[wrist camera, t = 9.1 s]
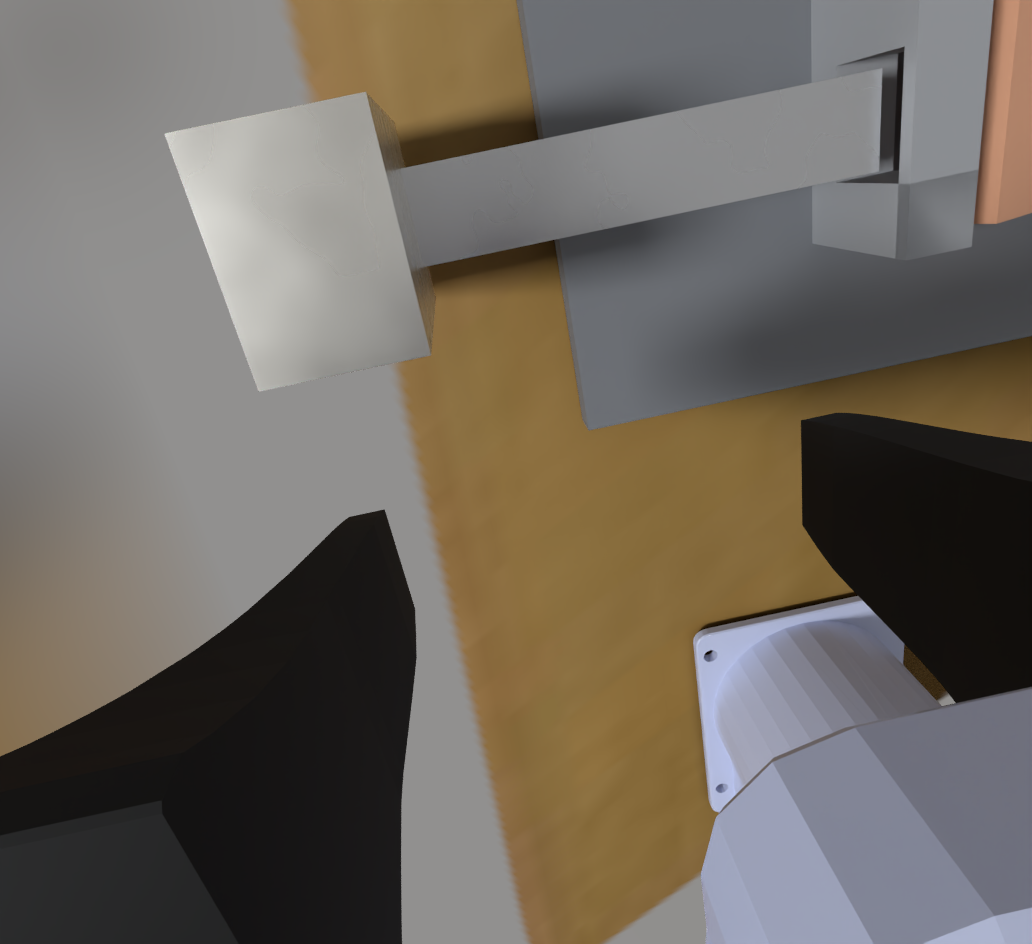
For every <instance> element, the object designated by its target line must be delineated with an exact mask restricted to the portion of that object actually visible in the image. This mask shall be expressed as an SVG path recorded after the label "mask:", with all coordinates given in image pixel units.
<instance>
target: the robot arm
mask: <svg viewBox="0 0 1032 944" xmlns="http://www.w3.org/2000/svg"><path fill="white" fill-rule="evenodd" d="M801 446H802V522H803V526H804V528H805V529H806V531H807V532H808V534H809V535H810V537H811V539H812V540H813V542H814V543H815V545H816V546H817V548H818V549H819V550H820V552H821V553H822V555H823V556H824V557H825V559H826V560H827V561H828V563H829V564H830V566H831V567H832V568H833V569H834V570H835V572H836V573H837V574H838V575H839V576H840V577H841V578H842V579H843V580H844V581H845V582H846V583H847V584H848V586H849V587H850V588H851V589H852V590H853V591H854V592H855V593H856V594H857V595H858V596H854V597H850V598H845V599H841V600H836V601H831V602H827V603H822V604H818V605H813V606H808V607H804V608H799V609H794V610H790V611H785V612H781V613H776V614H771V615H767V616H762V617H758V618H753V619H748V620H744V621H739V622H735V623H730V624H725V625H721V626H716V627H711V628H707V629H704V630H701V631H699V632H698V633H697V634H696V635H695V637H694V641H693V645H694V655H695V665H696V675H697V685H698V695H699V705H700V715H701V725H702V735H703V745H704V756H705V766H706V776H707V786H708V796H709V802H710V804H711V807H712V809H713V810H714V811H716V812H720V813H719V814H718V816H717V817H716V820H715V823H714V827H713V831H712V835H711V838H710V842H709V846H708V850H707V853H706V857H705V861H704V865H703V868H702V872H701V880H702V889H703V898H704V907H705V916H706V925H707V934H706V944H1032V442H1029V441H1021V440H1014V439H1007V438H1000V437H993V436H987V435H981V434H975V433H969V432H963V431H957V430H951V429H946V428H940V427H934V426H929V425H923V424H918V423H912V422H907V421H901V420H895V419H889V418H883V417H877V416H870V415H862V414H852V413H834V414H829V415H824V416H820V417H815V418H810V419H806V420H801ZM904 644H905V645H906V646H907V647H908V648H909V649H910V650H911V651H912V652H913V653H914V654H915V655H916V656H917V657H918V658H919V659H920V660H921V662H922V663H923V664H924V665H925V666H926V667H927V668H928V669H929V671H930V672H931V673H932V674H933V675H934V676H935V677H936V679H937V680H938V681H939V682H940V683H941V684H942V686H943V687H944V688H945V689H946V691H947V692H948V693H949V695H950V696H951V697H952V698H953V700H954V701H955V702H956V703H955V704H950V705H946V706H941V705H940V704H939V703H938V702H937V701H936V700H935V698H934V697H933V696H932V695H931V694H930V693H929V692H928V691H927V690H926V689H925V688H924V687H923V686H922V685H921V684H920V682H919V681H918V680H917V679H916V678H915V677H914V676H913V675H912V674H911V673H910V672H909V671H908V670H907V669H906V668H905V666H904V665H903V659H904ZM710 650H713V651H712V652H711V653H710V654H708V655H704V654H705V653H706V652H708V651H710ZM415 666H416V624H415V607H414V604H413V601H412V598H411V594H410V591H409V588H408V585H407V581H406V578H405V575H404V572H403V569H402V565H401V562H400V558H399V555H398V552H397V549H396V545H395V542H394V539H393V536H392V533H391V529H390V526H389V523H388V519H387V516H386V513H385V510H380V511H376V512H371V513H366V514H362V515H357V516H352V517H349V518H347V519H346V520H345V521H343V522H342V523H341V524H340V525H339V526H338V527H337V528H335V529H334V530H333V531H332V532H331V533H330V534H329V535H328V536H327V537H326V538H325V539H324V540H323V541H322V542H321V543H320V544H319V545H318V546H317V547H316V548H315V549H314V550H313V551H312V552H311V553H310V554H309V555H308V556H307V557H306V558H305V559H304V560H303V561H302V562H301V563H300V564H299V565H298V566H296V568H294V570H293V571H292V572H290V574H288V575H287V576H286V577H285V578H284V579H283V580H282V581H280V582H279V583H278V584H277V585H276V586H275V587H274V588H273V589H272V590H270V591H269V592H268V593H267V594H266V595H265V596H264V597H262V598H261V599H260V600H259V601H258V602H257V603H256V604H255V605H253V606H252V607H251V608H250V609H249V610H248V611H247V612H245V613H244V614H243V615H242V616H240V617H239V618H238V619H237V620H235V621H234V622H233V623H231V624H230V625H229V626H228V627H226V628H225V629H224V630H222V631H221V632H220V633H218V634H217V635H215V636H214V637H213V638H211V639H210V640H209V641H207V642H206V643H204V644H203V645H202V646H200V647H199V648H198V649H196V650H195V651H193V652H192V653H190V654H189V655H187V656H186V657H184V658H182V659H181V660H179V661H178V662H176V663H174V664H173V665H171V666H170V667H168V668H166V669H165V670H163V671H162V672H160V673H158V674H157V675H155V676H154V677H152V678H150V679H149V680H147V681H146V682H144V683H143V684H141V685H139V686H138V687H136V688H134V689H133V690H131V691H129V692H128V693H126V694H124V695H122V696H121V697H119V698H117V699H115V700H113V701H112V702H110V703H108V704H106V705H105V706H102V707H101V708H99V709H97V710H95V711H93V712H91V713H90V714H88V715H86V716H84V717H82V718H80V719H78V720H76V721H74V722H72V723H70V724H68V725H66V726H64V727H62V728H60V729H58V730H56V731H54V732H52V733H50V734H48V735H46V736H44V737H42V738H40V739H38V740H36V741H34V742H32V743H30V744H28V745H25V746H23V747H21V748H19V749H16V750H14V751H12V752H10V753H7V754H5V755H3V756H1V757H0V944H402V929H401V927H402V925H401V799H402V784H403V770H404V762H405V754H406V746H407V737H408V728H409V720H410V711H411V703H412V694H413V684H414V676H415ZM719 784H720V785H719Z"/></svg>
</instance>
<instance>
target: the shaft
mask: <svg viewBox="0 0 1032 944" xmlns="http://www.w3.org/2000/svg"><path fill="white" fill-rule="evenodd" d="M881 96H882V68H881V69H876V70H871V71H866V72H862V73H857V74H852V75H847V76H843V77H838V78H833V79H828V80H823V81H819V82H814V83H809V84H804V85H799V86H795V87H790V88H785V89H780V90H775V91H771V92H766V93H761V94H756V95H751V96H747V97H742V98H737V99H732V100H727V101H723V102H718V103H713V104H708V105H704V106H699V107H694V108H689V109H684V110H680V111H675V112H670V113H665V114H660V115H656V116H651V117H646V118H641V119H636V120H632V121H627V122H622V123H617V124H612V125H608V126H603V127H598V128H593V129H588V130H584V131H579V132H574V133H569V134H565V135H560V136H555V137H550V138H545V139H541V140H536V141H531V142H526V143H521V144H517V145H512V146H507V147H502V148H497V149H493V150H488V151H483V152H478V153H473V154H469V155H464V156H459V157H454V158H449V159H445V160H440V161H435V162H430V163H426V164H421V165H416V166H411V167H406V168H405V165H404V161H403V156H402V152H401V148H400V144H399V139H398V135H397V131H396V127H395V122H394V121H393V120H392V119H391V118H390V117H389V116H388V115H387V114H386V113H385V112H384V111H383V110H382V109H381V108H380V106H379V105H378V104H377V103H376V102H375V101H374V100H373V99H372V98H371V97H370V96H369V95H368V94H367V93H366V92H363V93H358V94H353V95H348V96H343V97H339V98H334V99H329V100H324V101H319V102H315V103H310V104H305V105H300V106H295V107H290V108H286V109H281V110H276V111H272V112H267V113H261V114H257V115H252V116H247V117H242V118H237V119H233V120H228V121H223V122H219V123H214V124H208V125H204V126H199V127H194V128H189V129H184V130H180V131H175V132H170V133H165V137H166V139H167V142H168V145H169V148H170V150H171V153H172V156H173V159H174V161H175V164H176V167H177V170H178V172H179V175H180V178H181V181H182V183H183V186H184V189H185V192H186V194H187V197H188V200H189V203H190V205H191V208H192V211H193V214H194V216H195V219H196V222H197V224H198V227H199V230H200V233H201V235H202V238H203V241H204V243H205V246H206V249H207V252H208V255H209V257H210V260H211V263H212V266H213V268H214V271H215V274H216V277H217V279H218V282H219V285H220V287H221V290H222V293H223V295H224V298H225V301H226V304H227V307H228V309H229V312H230V315H231V318H232V320H233V323H234V326H235V329H236V331H237V334H238V337H239V340H240V342H241V345H242V348H243V350H244V353H245V356H246V359H247V361H248V364H249V367H250V370H251V372H252V375H253V378H254V380H255V383H256V386H257V389H258V392H260V391H264V390H269V389H274V388H279V387H283V386H288V385H293V384H298V383H302V382H307V381H312V380H316V379H321V378H326V377H331V376H335V375H340V374H345V373H349V372H354V371H359V370H364V369H368V368H373V367H378V366H383V365H387V364H392V363H397V362H402V361H406V360H411V359H416V358H420V357H425V356H430V355H431V349H432V338H433V326H434V314H435V302H436V296H435V292H434V288H433V284H432V279H431V275H430V271H429V267H428V266H432V265H437V264H441V263H446V262H451V261H456V260H460V259H465V258H470V257H475V256H479V255H484V254H489V253H494V252H498V251H503V250H508V249H513V248H518V247H522V246H527V245H532V244H537V243H541V242H546V241H551V240H556V239H560V238H565V237H570V236H575V235H579V234H584V233H589V232H594V231H598V230H603V229H608V228H613V227H617V226H622V225H627V224H632V223H636V222H641V221H646V220H651V219H655V218H660V217H665V216H670V215H674V214H679V213H684V212H689V211H694V210H698V209H703V208H708V207H713V206H717V205H722V204H727V203H732V202H736V201H741V200H746V199H751V198H755V197H760V196H765V195H770V194H774V193H779V192H784V191H789V190H793V189H798V188H803V187H808V186H812V185H817V184H822V183H827V182H831V181H836V180H841V179H846V178H850V177H855V176H860V175H865V174H870V173H874V172H879V157H880V126H881Z"/></svg>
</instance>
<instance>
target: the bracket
mask: <svg viewBox="0 0 1032 944" xmlns="http://www.w3.org/2000/svg"><path fill="white" fill-rule="evenodd" d="M993 2H994V0H517V6H518V12H519V19H520V25H521V31H522V38H523V44H524V50H525V57H526V63H527V69H528V76H529V82H530V88H531V95H532V101H533V108H534V114H535V120H536V127H537V133H538V139H539V140H541V139H545V138H550V137H555V136H560V135H565V134H569V133H574V132H579V131H584V130H588V129H593V128H598V127H603V126H608V125H612V124H617V123H622V122H627V121H632V120H636V119H641V118H646V117H651V116H656V115H660V114H665V113H670V112H675V111H680V110H684V109H689V108H694V107H699V106H704V105H708V104H713V103H718V102H723V101H727V100H732V99H737V98H742V97H747V96H751V95H756V94H761V93H766V92H771V91H775V90H780V89H785V88H790V87H795V86H799V85H804V84H809V83H814V82H819V81H823V80H828V79H833V78H838V77H843V76H847V75H852V74H857V73H862V72H866V71H871V70H876V69H881V68H882V96H881V126H880V157H879V172H874V173H870V174H865V175H860V176H855V177H850V178H846V179H841V180H836V181H831V182H827V183H822V184H817V185H812V186H808V187H803V188H798V189H793V190H789V191H784V192H779V193H774V194H770V195H765V196H760V197H755V198H751V199H746V200H741V201H736V202H732V203H727V204H722V205H717V206H713V207H708V208H703V209H698V210H694V211H689V212H684V213H679V214H674V215H670V216H665V217H660V218H655V219H651V220H646V221H641V222H636V223H632V224H627V225H622V226H617V227H613V228H608V229H603V230H598V231H594V232H589V233H584V234H579V235H575V236H570V237H565V238H560V239H556V240H554V241H555V247H556V253H557V260H558V266H559V272H560V279H561V285H562V292H563V298H564V304H565V311H566V317H567V323H568V330H569V336H570V342H571V349H572V355H573V361H574V368H575V374H576V380H577V387H578V393H579V399H580V406H581V412H582V418H583V421H584V423H585V425H586V426H587V428H588V430H593V429H598V428H602V427H607V426H612V425H616V424H621V423H626V422H631V421H635V420H640V419H645V418H649V417H654V416H659V415H663V414H668V413H673V412H677V411H682V410H687V409H691V408H696V407H701V406H706V405H710V404H715V403H720V402H724V401H729V400H734V399H738V398H743V397H748V396H752V395H757V394H762V393H766V392H771V391H776V390H781V389H785V388H790V387H795V386H799V385H804V384H809V383H813V382H818V381H823V380H827V379H832V378H837V377H841V376H846V375H851V374H856V373H860V372H865V371H870V370H874V369H879V368H884V367H888V366H893V365H898V364H902V363H907V362H912V361H916V360H921V359H926V358H931V357H935V356H940V355H945V354H949V353H954V352H959V351H963V350H968V349H973V348H977V347H982V346H987V345H991V344H996V343H1001V342H1006V341H1010V340H1015V339H1020V338H1024V337H1029V336H1032V213H1030V214H1027V215H1023V216H1020V217H1017V218H1014V219H1011V220H1007V221H1004V222H1001V223H998V224H974V215H975V203H976V192H977V181H978V170H979V159H980V147H981V136H982V125H983V114H984V102H985V91H986V80H987V69H988V58H989V46H990V35H991V24H992V13H993Z"/></svg>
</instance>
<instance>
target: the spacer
mask: <svg viewBox="0 0 1032 944" xmlns="http://www.w3.org/2000/svg"><path fill="white" fill-rule="evenodd" d="M1030 213H1032V0H994V2H993V13H992V24H991V35H990V46H989V58H988V69H987V80H986V91H985V102H984V114H983V125H982V136H981V147H980V159H979V170H978V181H977V192H976V203H975V215H974V224H998V223H1001V222H1004V221H1007V220H1011V219H1014V218H1017V217H1020V216H1023V215H1027V214H1030Z"/></svg>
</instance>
